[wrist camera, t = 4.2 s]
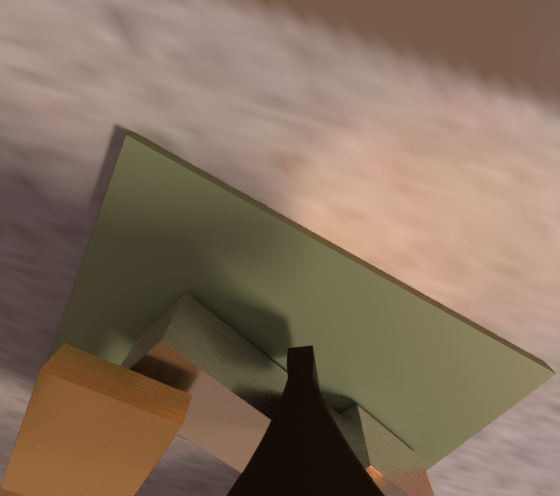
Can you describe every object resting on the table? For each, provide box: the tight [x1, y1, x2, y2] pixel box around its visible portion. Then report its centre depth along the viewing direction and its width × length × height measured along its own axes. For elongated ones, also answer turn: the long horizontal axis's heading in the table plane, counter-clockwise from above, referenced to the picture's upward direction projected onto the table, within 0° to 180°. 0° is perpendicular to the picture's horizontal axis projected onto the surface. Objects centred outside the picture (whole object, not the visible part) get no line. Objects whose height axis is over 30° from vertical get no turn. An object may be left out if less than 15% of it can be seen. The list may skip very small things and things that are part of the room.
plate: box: [48, 133, 556, 471], centre depth 14 cm, size 13×19×1 cm, turn 60°
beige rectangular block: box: [121, 293, 434, 496], centre depth 13 cm, size 14×5×3 cm, turn 44°
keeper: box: [0, 343, 192, 496], centre depth 12 cm, size 8×4×4 cm, turn 150°
